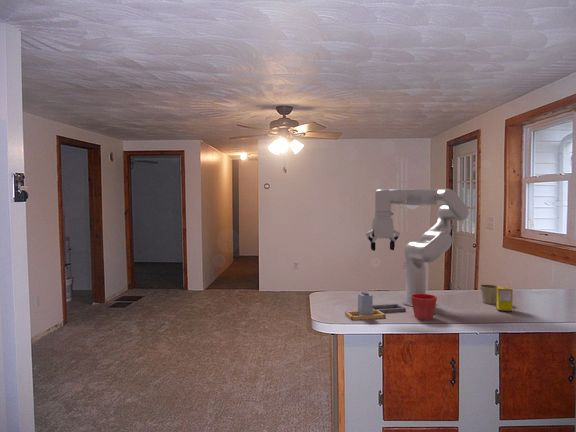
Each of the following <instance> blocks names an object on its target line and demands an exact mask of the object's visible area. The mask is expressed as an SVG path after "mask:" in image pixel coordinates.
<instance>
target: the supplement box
mask: <svg viewBox="0 0 576 432" xmlns="http://www.w3.org/2000/svg"><path fill="white" fill-rule="evenodd" d="M496 286H497V302H496V309H497V311H498V312H501V313H502V312H505V313H513V300H514V299H513V298H514V297H513V293H514V292H513V288H511V287H510V286H499V285H496Z"/></svg>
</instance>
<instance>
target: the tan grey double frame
mask: <svg viewBox="0 0 576 432" xmlns="http://www.w3.org/2000/svg"><path fill="white" fill-rule="evenodd" d="M395 307H396V308H395ZM375 308H378V309H375ZM406 310H407V309H406V307H405V306H403V305H400V304H399V303H391V304H390V303H388V304H373V315H360V316H358V315H355V314H358V310H350V311H348V310H347V311H346V310H345V311H344V316H345V317H347V318H348V319H349V320H351V321H355V320H356V321H357V320H358V321H359V320H360V319H361V320H372V319H373V320H375V319H376V318H377V319H386V314H387V313H386V312H388V313H401V312H404V313H405V312H406ZM374 313H377V314H374Z"/></svg>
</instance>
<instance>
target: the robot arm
mask: <svg viewBox="0 0 576 432" xmlns="http://www.w3.org/2000/svg"><path fill="white" fill-rule="evenodd" d="M374 200H375V201H374V209H375V210H374V217H373V218H372V222H371V223H372V224H371V230H369V231H367V232H366V233H365V236H366V238H367V240H369V242H370V249H371V251H373V252H374V251H376V240H377V239H389V240H390V242H389V250H390V251H391V250H392V251H394V250H395V246H396V245H395V244H396V241H397V240H398V239H399V236H400V235H401V233H400V232H399V231H397V230H396V229H394V228H395V227H394V221H393V217H392V216H394V212H392V205H397V206H398V205H400V206H401V205H402V206H403V205H404V206H405V205H406V206H407V205H408V206H420V207H421V206H435V207H436V206H439V208H438V210H437V216H436V217H437V219H436V223H435V224H434V225H433V226H432V227H430V228H429V229H428V230H426V231H425V232H424V233H423V234H422V235H421V237H420V241H417V240H416V241H414V240H413V241H409V242H407V243H406V245H405V247H404V249H403V250H404V259H405V299H402V303H403V304H404V305H406V306H409V307H410V306H411V307H413V305H412V299H411V295H413V294H426V287H427V285H426V283H427V281H426V278H427V277H426V274H427V268H426V264H425V263H428V264H431V263H433V262H435V261H437V260H438V259H439V258H440V257H441V256H442V255H443V254H444V253H446V252H447V251H448V250H449V249H450V247H451V246H452V242H453V239H452V235H451V232H452V231H451V230H452V226H451V221H455V222H457V221H458V222H460V221H461V222H462V221H465V220H466V219H467V218H468V216H469V214H470V211H469V208H468V206H467V205H466V203H465V202H464V201H463V200H462V199H461V197H460V196H459V195H458V193H456V191H454V190H453V189H450V188H412V189H401V188H392V189H376V190H375V196H374Z"/></svg>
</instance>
